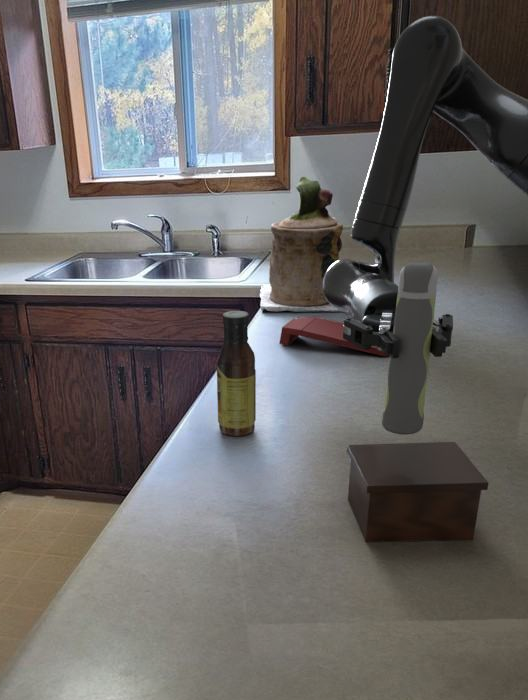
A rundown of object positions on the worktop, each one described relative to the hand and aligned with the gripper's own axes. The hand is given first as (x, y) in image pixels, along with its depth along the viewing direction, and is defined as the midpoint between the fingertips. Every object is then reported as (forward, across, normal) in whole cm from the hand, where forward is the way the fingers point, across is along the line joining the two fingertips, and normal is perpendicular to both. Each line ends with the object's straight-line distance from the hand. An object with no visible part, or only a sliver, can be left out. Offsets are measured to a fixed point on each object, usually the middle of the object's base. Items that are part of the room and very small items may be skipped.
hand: (418, 349), depth 84 cm
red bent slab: (-79, +7, +23) cm, 83 cm away
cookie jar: (-122, +5, +24) cm, 124 cm away
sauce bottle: (-31, -19, +23) cm, 43 cm away
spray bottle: (-3, 0, +11) cm, 12 cm away
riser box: (0, +1, +23) cm, 23 cm away
